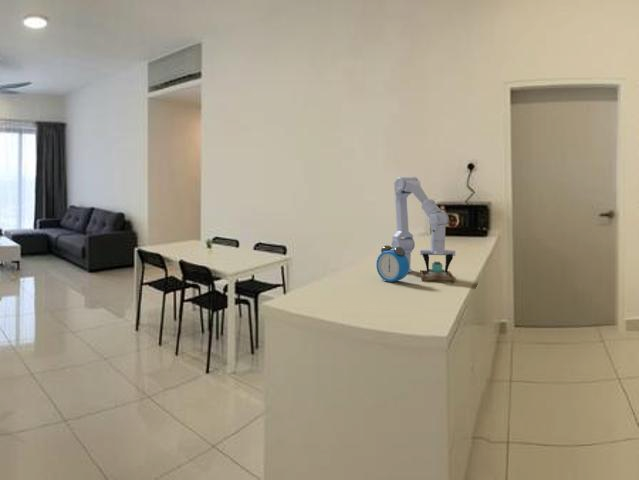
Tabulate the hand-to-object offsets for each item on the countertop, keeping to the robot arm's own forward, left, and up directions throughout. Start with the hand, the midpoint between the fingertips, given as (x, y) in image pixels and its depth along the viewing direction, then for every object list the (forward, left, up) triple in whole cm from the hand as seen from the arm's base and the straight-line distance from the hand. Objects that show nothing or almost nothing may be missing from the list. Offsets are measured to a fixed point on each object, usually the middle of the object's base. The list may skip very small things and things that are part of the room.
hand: (436, 271), depth 195 cm
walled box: (0, +2, -3) cm, 4 cm away
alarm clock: (-19, -6, -4) cm, 20 cm away
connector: (0, 0, -3) cm, 3 cm away
